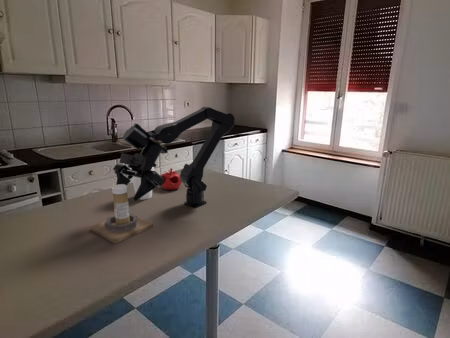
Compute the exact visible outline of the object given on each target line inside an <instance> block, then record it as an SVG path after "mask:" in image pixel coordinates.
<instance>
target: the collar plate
mask: <svg viewBox="0 0 450 338" xmlns="http://www.w3.org/2000/svg"><path fill="white" fill-rule="evenodd" d="M129 218H130V222H129V223H127V224H124V225H116V219H115V214H114V215H111V216H109V217H107V218H106V220H105V221H103V222H100V223H97V224H95V225H91V226H90V227H89V230H90V231H91V232H93V233H95V234H97V235H98V236H100V237H101V238H104V239H106V240H107V241H109V242H110V243H113V244H117V243H120V242H123V241H124V240H127V239H128V238H131V237H133V236H136V235H138V234H140V233H143V232H144V231H146V230H149V229H152V228H153V227H154V223H153V222H150V221H148V220H146V219H143V218H141V217H139V216H138V215H135V214H133V213H131V212H129Z"/></svg>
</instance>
